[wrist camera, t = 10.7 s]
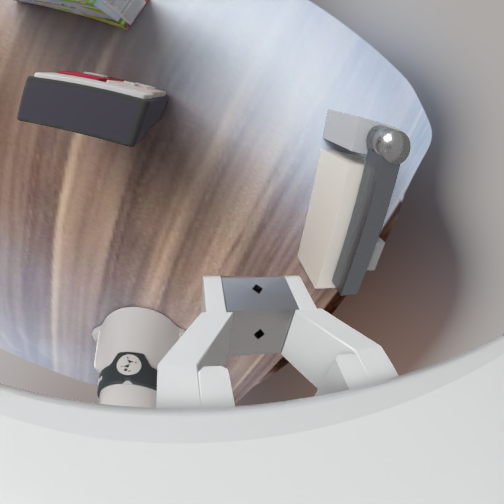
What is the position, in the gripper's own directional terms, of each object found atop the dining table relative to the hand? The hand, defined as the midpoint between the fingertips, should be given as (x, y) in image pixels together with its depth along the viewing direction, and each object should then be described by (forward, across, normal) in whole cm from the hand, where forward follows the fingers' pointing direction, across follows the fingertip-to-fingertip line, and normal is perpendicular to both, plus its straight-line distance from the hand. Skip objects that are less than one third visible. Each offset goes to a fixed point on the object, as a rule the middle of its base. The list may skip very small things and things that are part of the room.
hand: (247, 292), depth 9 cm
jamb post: (+28, -18, -4) cm, 34 cm away
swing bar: (+20, -18, +5) cm, 27 cm away
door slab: (+28, -18, +8) cm, 34 cm away
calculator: (+29, +11, -5) cm, 31 cm away
